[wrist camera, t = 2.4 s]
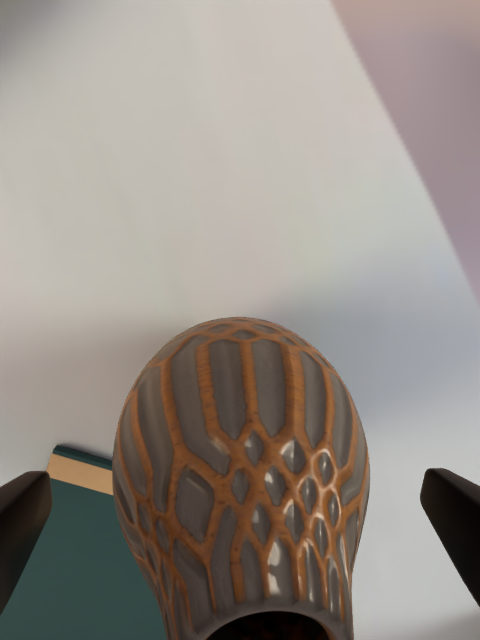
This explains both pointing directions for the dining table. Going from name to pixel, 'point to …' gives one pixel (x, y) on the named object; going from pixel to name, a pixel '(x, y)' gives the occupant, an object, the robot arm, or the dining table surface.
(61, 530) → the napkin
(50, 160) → the dining table surface
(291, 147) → the dining table surface
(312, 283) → the dining table surface
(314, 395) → the vase
